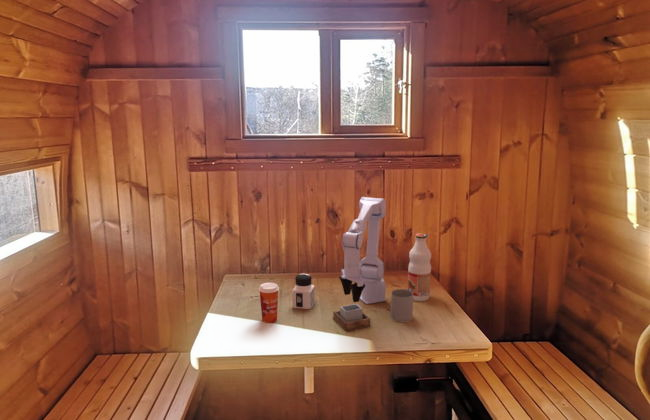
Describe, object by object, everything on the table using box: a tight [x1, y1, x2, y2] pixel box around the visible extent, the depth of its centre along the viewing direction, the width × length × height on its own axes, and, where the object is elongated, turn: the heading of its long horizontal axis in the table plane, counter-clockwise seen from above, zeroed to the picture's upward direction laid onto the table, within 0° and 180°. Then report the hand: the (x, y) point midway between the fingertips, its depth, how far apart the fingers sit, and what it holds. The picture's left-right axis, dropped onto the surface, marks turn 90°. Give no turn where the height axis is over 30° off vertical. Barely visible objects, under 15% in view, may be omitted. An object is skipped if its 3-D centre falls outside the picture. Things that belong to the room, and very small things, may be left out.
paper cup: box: [258, 282, 280, 324], centre depth 191 cm, size 8×8×14 cm
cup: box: [390, 288, 414, 323], centre depth 193 cm, size 8×8×10 cm
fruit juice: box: [407, 232, 432, 302], centre depth 210 cm, size 9×9×28 cm
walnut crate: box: [332, 310, 371, 332], centre depth 190 cm, size 10×11×3 cm
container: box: [291, 273, 316, 310], centre depth 205 cm, size 8×8×13 cm
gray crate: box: [339, 303, 364, 322], centre depth 189 cm, size 7×5×6 cm
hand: (351, 297), depth 188 cm, fingers open, 7 cm apart
